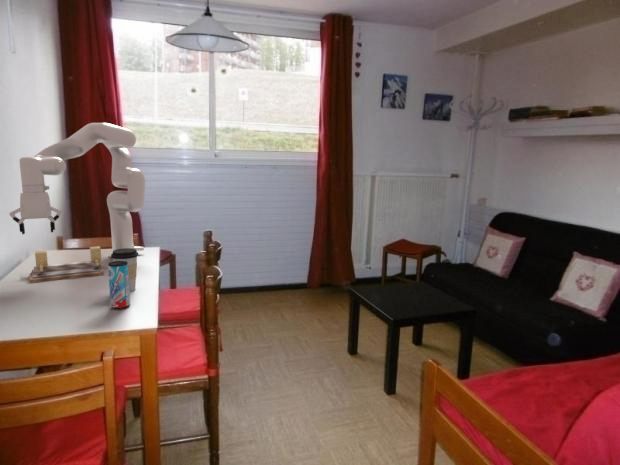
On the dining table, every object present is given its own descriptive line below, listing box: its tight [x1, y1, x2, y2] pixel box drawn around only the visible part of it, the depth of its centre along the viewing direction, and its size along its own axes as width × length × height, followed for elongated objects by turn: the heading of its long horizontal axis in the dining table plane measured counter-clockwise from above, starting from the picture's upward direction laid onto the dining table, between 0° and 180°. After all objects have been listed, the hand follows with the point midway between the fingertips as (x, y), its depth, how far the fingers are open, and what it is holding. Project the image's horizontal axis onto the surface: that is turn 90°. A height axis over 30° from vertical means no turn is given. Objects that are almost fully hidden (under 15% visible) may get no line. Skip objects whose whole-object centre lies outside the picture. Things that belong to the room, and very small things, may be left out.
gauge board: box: [29, 260, 105, 284], centre depth 182 cm, size 26×16×3 cm, turn 119°
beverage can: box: [107, 261, 131, 310], centre depth 144 cm, size 6×6×15 cm
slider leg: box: [34, 250, 49, 273], centre depth 177 cm, size 4×10×7 cm, turn 29°
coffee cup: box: [110, 248, 139, 293], centre depth 161 cm, size 9×9×15 cm
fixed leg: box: [89, 245, 102, 268], centre depth 187 cm, size 4×10×7 cm, turn 29°
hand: (38, 232), depth 172 cm, fingers open, 9 cm apart
